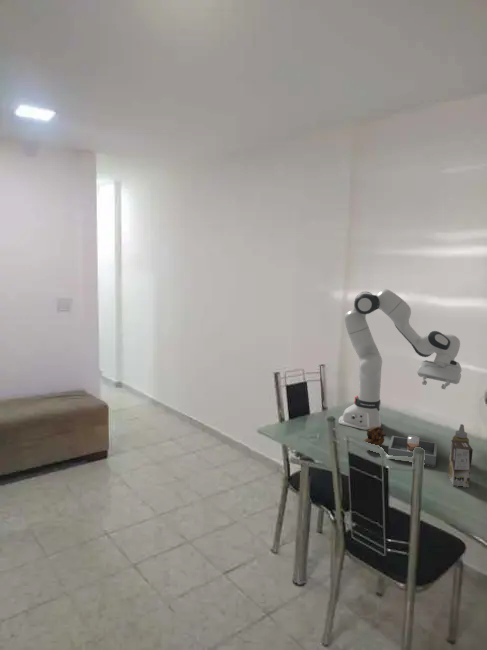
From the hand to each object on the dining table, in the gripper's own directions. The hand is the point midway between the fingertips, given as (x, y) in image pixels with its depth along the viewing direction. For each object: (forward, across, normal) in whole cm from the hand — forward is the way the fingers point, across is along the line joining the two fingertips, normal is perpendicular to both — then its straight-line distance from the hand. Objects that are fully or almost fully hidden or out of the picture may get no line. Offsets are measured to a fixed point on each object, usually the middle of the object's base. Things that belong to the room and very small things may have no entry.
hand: (433, 386), depth 230 cm
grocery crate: (+37, +3, +2) cm, 37 cm away
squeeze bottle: (+31, +20, +8) cm, 38 cm away
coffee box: (+44, +27, -5) cm, 52 cm away
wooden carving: (+40, -14, 0) cm, 42 cm away
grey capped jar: (+36, +2, +2) cm, 36 cm away
